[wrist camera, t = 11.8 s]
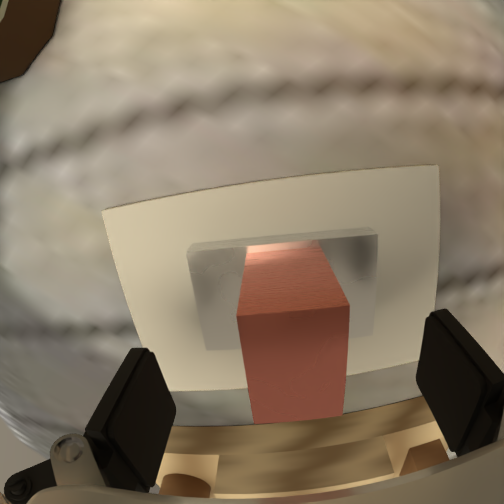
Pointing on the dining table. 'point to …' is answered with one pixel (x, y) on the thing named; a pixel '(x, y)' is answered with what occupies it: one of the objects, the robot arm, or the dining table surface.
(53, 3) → the beer bottle
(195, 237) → the mat
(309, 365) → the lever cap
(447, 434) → the robot arm
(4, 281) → the dining table surface
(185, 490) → the body
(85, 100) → the dining table surface
